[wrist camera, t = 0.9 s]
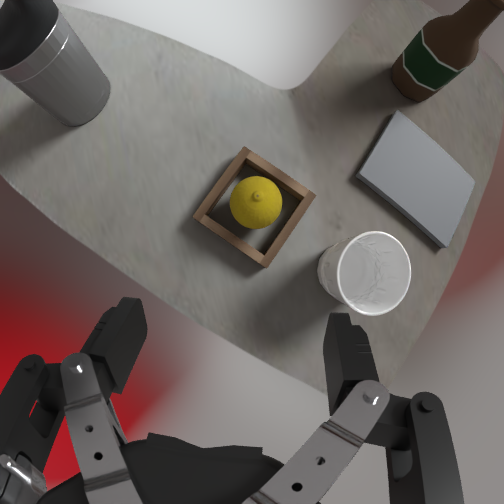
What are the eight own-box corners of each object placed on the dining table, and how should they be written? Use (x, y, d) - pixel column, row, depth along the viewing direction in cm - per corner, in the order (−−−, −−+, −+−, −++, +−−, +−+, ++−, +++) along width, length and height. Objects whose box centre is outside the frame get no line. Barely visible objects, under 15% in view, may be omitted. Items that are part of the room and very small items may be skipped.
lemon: (229, 187, 38) (226, 169, 30) (275, 184, 38) (284, 165, 30) (232, 233, 38) (230, 227, 30) (279, 229, 38) (290, 222, 30)
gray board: (355, 176, 38) (359, 173, 37) (392, 113, 39) (397, 109, 37) (441, 248, 39) (447, 247, 37) (469, 183, 39) (475, 181, 38)
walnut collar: (195, 219, 37) (192, 216, 35) (243, 153, 38) (243, 146, 35) (265, 267, 38) (266, 268, 35) (311, 199, 38) (316, 195, 36)
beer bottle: (399, 103, 39) (496, 10, 15) (382, 60, 39) (457, -41, 15) (438, 104, 39) (535, 29, 15) (421, 63, 39) (501, -21, 15)
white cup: (371, 237, 38) (410, 231, 28) (371, 300, 38) (410, 312, 28) (311, 237, 38) (336, 230, 28) (312, 303, 38) (336, 318, 28)
